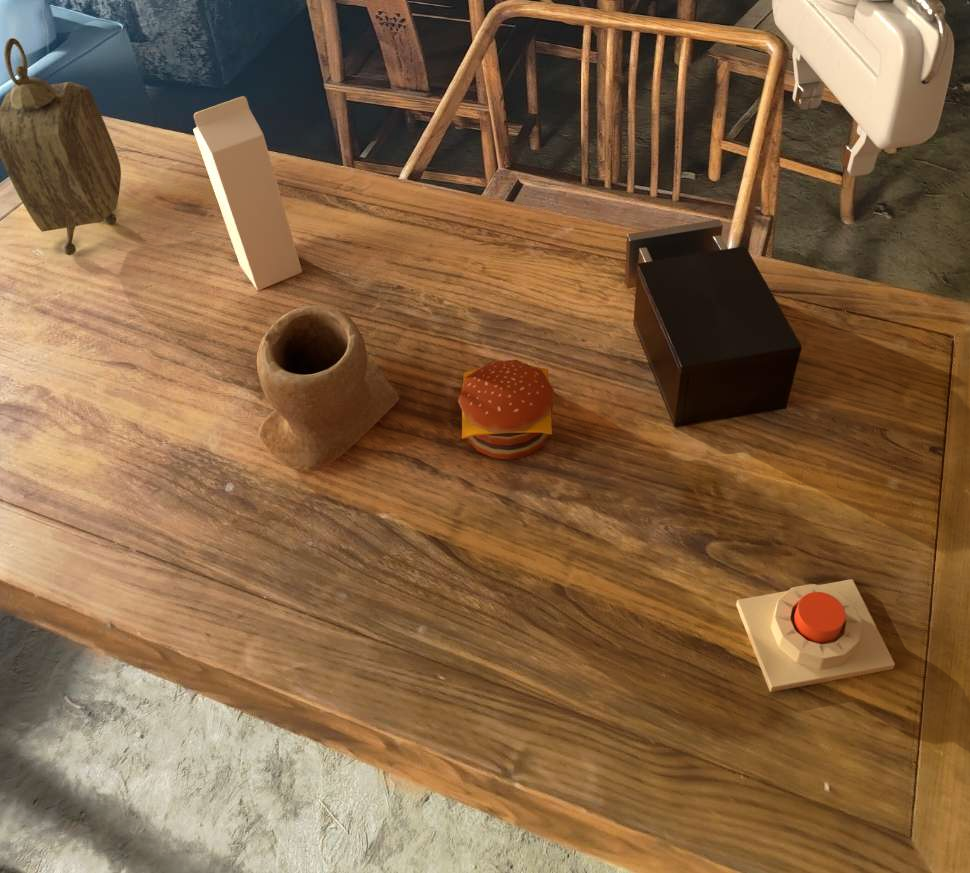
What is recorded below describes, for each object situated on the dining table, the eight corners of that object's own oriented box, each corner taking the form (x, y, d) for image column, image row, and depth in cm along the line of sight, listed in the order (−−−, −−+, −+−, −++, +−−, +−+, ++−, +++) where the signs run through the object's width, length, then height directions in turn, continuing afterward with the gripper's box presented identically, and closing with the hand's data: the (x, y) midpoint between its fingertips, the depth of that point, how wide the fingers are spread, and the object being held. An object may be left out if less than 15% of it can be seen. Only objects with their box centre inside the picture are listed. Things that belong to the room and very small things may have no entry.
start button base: (847, 592, 79) (857, 566, 76) (888, 677, 74) (902, 653, 71) (733, 613, 79) (739, 588, 76) (767, 700, 73) (775, 677, 70)
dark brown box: (633, 324, 103) (637, 263, 96) (734, 307, 103) (745, 245, 97) (674, 427, 93) (681, 366, 86) (786, 408, 93) (802, 346, 87)
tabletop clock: (69, 201, 127) (-19, 20, 108) (135, 190, 128) (59, 8, 109) (56, 265, 118) (-43, 80, 99) (127, 253, 118) (43, 67, 99)
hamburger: (559, 457, 91) (558, 412, 86) (462, 465, 92) (455, 420, 87) (552, 388, 97) (550, 342, 92) (461, 395, 98) (454, 350, 93)
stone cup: (325, 500, 90) (289, 394, 79) (247, 444, 95) (203, 337, 84) (431, 408, 97) (412, 298, 85) (353, 360, 102) (325, 251, 91)
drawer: (621, 275, 107) (624, 227, 102) (709, 261, 108) (716, 212, 102) (660, 369, 97) (664, 321, 92) (756, 353, 97) (766, 304, 92)
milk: (240, 266, 115) (181, 102, 98) (284, 248, 117) (234, 83, 100) (258, 292, 111) (201, 126, 95) (304, 272, 113) (255, 106, 97)
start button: (829, 599, 75) (834, 587, 74) (848, 638, 73) (853, 627, 71) (786, 607, 75) (790, 595, 73) (804, 646, 72) (808, 635, 71)
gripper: (1005, 7, 54) (935, 208, 64) (855, -115, 67) (817, 67, 78) (901, 23, 53) (847, 222, 64) (770, -103, 67) (744, 78, 77)
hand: (829, 136), depth 71 cm, fingers open, 8 cm apart
